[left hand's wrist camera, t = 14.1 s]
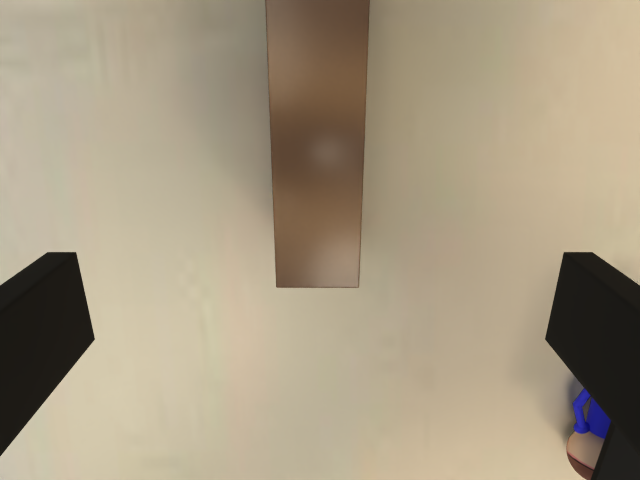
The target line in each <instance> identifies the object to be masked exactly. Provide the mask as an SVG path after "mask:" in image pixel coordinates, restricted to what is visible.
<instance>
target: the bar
mask: <svg viewBox="0 0 640 480" xmlns="http://www.w3.org/2000/svg"><path fill="white" fill-rule="evenodd" d="M265 2H266V28H267V55H268V81H269V107H270V134H271V160H272V187H273V213H274V239H275V266H276V287H277V288H359V274H360V247H361V220H362V193H363V166H364V139H365V112H366V85H367V59H368V32H369V5H370V0H265Z"/></svg>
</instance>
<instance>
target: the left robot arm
mask: <svg viewBox="0 0 640 480" xmlns="http://www.w3.org/2000/svg"><path fill="white" fill-rule="evenodd" d="M94 340H95V338H94V333H93V329H92V324H91V319H90V315H89V310H88V305H87V301H86V296H85V291H84V287H83V282H82V277H81V273H80V268H79V264H78V259H77V254H76V252H47V253H46V254H44V255H43V256H42V257H40V258H39V259H37V260H36V261H35V262H33V263H32V264H30V265H29V266H27V267H26V268H25V269H23V270H22V271H20V272H19V273H17V274H16V275H15V276H13V277H12V278H10V279H9V280H7V281H6V282H5V283H3V284H2V285H0V456H1V455H2V453H3V452H4V451H5V450H6V449H7V447H8V446H9V445H10V444H11V442H12V441H13V440H14V439H15V437H16V436H17V435H18V434H19V432H20V431H21V430H22V429H23V428H24V426H25V425H26V424H27V423H28V421H29V420H30V419H31V418H32V416H33V415H34V414H35V413H36V411H37V410H38V409H39V408H40V406H41V405H42V404H43V403H44V402H45V400H46V399H47V398H48V397H49V395H50V394H51V393H52V392H53V390H54V389H55V388H56V387H57V385H58V384H59V383H60V382H61V381H62V379H63V378H64V377H65V376H66V374H67V373H68V372H69V371H70V369H71V368H72V367H73V366H74V364H75V363H76V362H77V361H78V359H79V358H80V357H81V356H82V355H83V353H84V352H85V351H86V350H87V348H88V347H89V346H90V345H91V343H92V342H93V341H94ZM545 340H546V341H547V342H548V343H549V345H550V346H551V347H552V348H553V350H554V351H555V352H556V353H557V355H558V356H559V357H560V358H561V360H562V361H563V362H564V363H565V364H566V366H567V367H568V368H569V369H570V371H571V372H572V373H573V374H574V376H575V377H576V378H577V379H578V381H579V382H580V383H581V384H582V385H583V387H584V388H585V389H586V390H587V392H588V393H589V394H590V395H591V397H592V398H593V399H594V400H595V402H596V403H597V404H598V405H599V406H600V408H601V409H602V410H603V411H604V413H605V414H606V415H607V416H608V418H609V419H610V420H611V421H612V423H613V424H614V425H615V426H616V428H617V429H618V430H619V431H620V432H621V434H622V435H623V436H624V437H625V439H626V440H627V441H628V442H629V444H630V445H631V446H632V447H633V449H634V450H635V451H636V452H637V453H638V455H639V456H640V285H638V284H637V283H635V282H634V281H633V280H631V279H630V278H628V277H627V276H625V275H624V274H623V273H621V272H620V271H618V270H617V269H615V268H614V267H613V266H611V265H610V264H608V263H607V262H605V261H604V260H603V259H601V258H600V257H598V256H597V255H596V254H594V253H593V252H564V254H563V259H562V264H561V268H560V273H559V277H558V282H557V287H556V291H555V296H554V301H553V305H552V310H551V315H550V319H549V324H548V329H547V333H546V338H545Z"/></svg>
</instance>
